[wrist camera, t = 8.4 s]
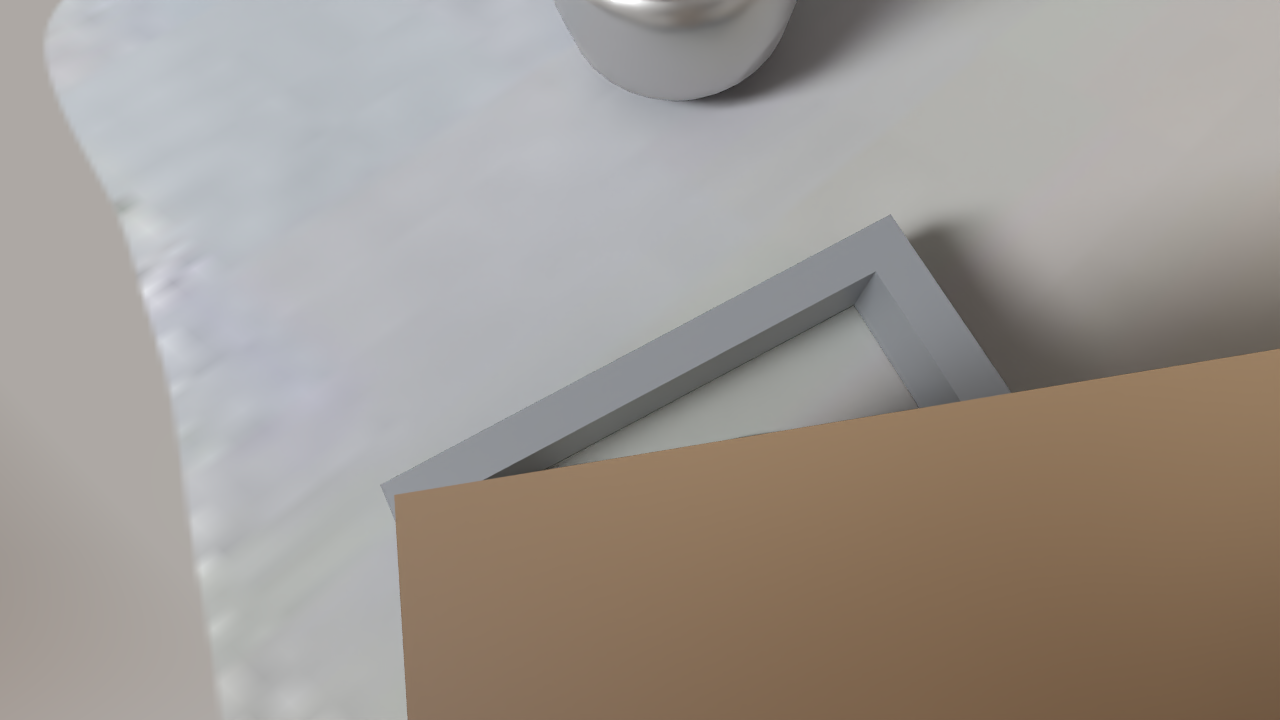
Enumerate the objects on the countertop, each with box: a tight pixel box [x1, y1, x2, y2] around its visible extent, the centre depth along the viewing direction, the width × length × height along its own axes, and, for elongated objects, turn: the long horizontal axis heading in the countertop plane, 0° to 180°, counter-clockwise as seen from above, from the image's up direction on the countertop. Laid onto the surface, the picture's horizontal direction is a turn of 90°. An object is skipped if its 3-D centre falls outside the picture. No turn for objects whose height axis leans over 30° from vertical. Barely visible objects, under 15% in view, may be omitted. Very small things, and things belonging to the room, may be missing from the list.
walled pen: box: [381, 214, 1011, 522], centre depth 15 cm, size 13×13×2 cm
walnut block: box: [394, 349, 1280, 720], centre depth 9 cm, size 5×5×13 cm
